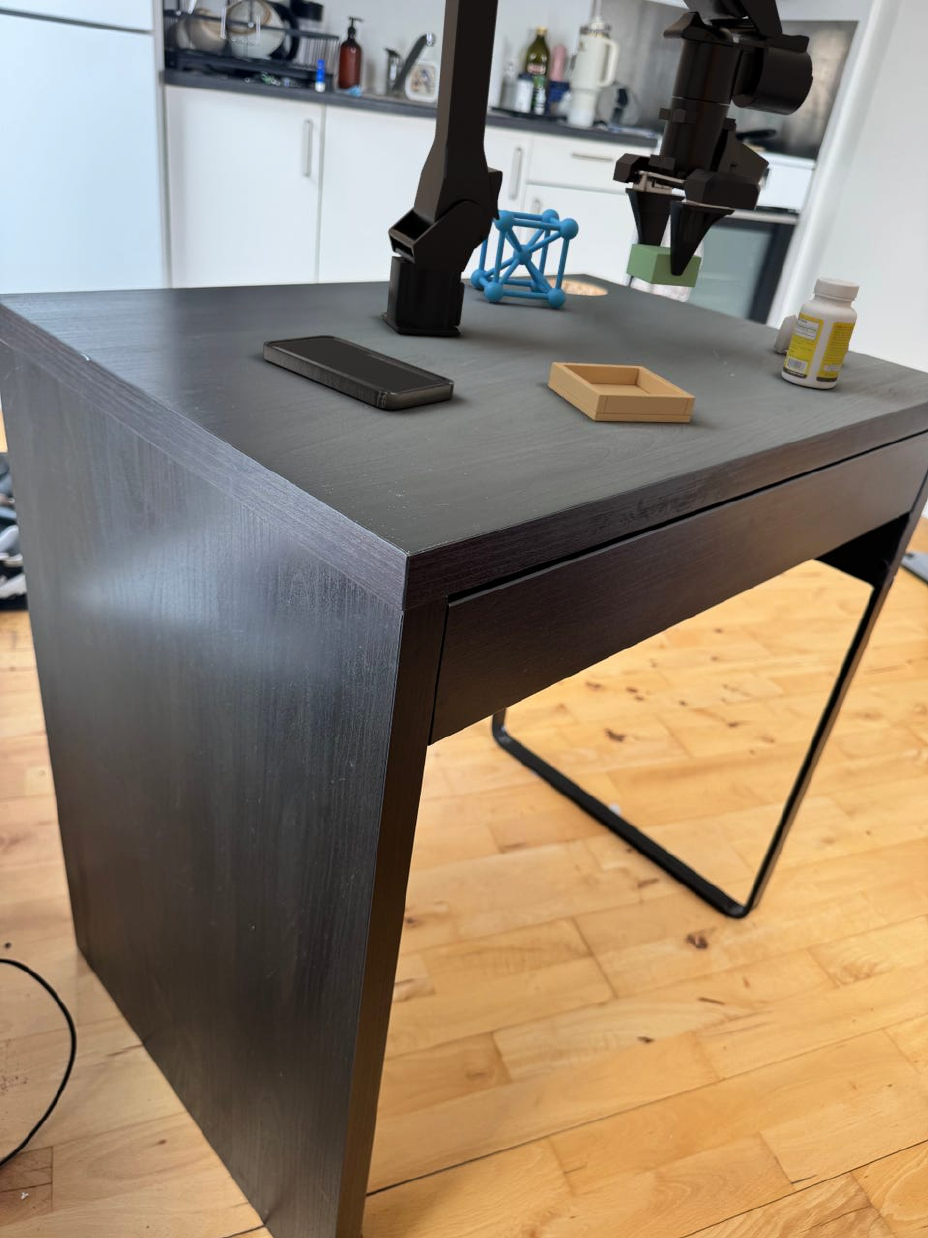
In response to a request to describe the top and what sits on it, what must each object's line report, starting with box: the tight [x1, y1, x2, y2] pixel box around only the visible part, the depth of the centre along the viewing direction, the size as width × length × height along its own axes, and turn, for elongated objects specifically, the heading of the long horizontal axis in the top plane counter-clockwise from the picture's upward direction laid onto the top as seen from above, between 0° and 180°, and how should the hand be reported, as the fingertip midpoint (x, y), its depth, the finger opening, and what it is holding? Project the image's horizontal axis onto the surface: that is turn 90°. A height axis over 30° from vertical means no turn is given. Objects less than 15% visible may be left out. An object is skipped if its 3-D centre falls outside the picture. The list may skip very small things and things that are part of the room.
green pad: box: [625, 243, 703, 288], centre depth 97 cm, size 5×5×3 cm
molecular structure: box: [470, 208, 580, 309], centre depth 109 cm, size 10×10×10 cm
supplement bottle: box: [781, 276, 860, 390], centre depth 91 cm, size 5×5×10 cm
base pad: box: [547, 361, 696, 423], centre depth 76 cm, size 9×9×2 cm
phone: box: [262, 334, 455, 410], centre depth 73 cm, size 8×1×15 cm
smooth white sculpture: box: [773, 314, 850, 356], centre depth 103 cm, size 4×8×5 cm
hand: (662, 269), depth 97 cm, fingers closed on green pad, 5 cm apart
